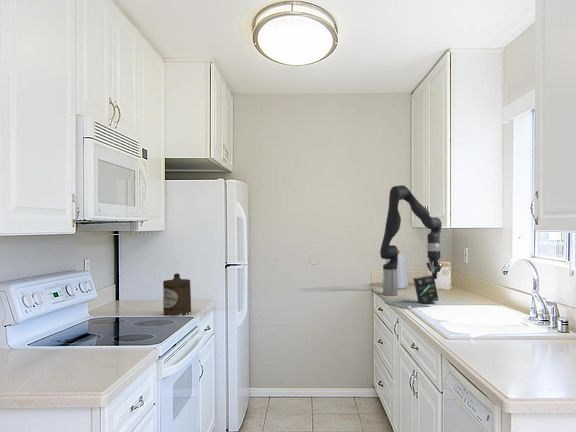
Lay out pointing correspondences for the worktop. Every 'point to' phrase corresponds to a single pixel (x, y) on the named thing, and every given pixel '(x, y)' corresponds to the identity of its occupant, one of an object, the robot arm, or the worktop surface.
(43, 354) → the worktop surface
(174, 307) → the wooden container
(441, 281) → the coffeecake box
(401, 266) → the plastic bottle
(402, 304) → the display mat
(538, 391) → the worktop surface
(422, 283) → the tampon box
